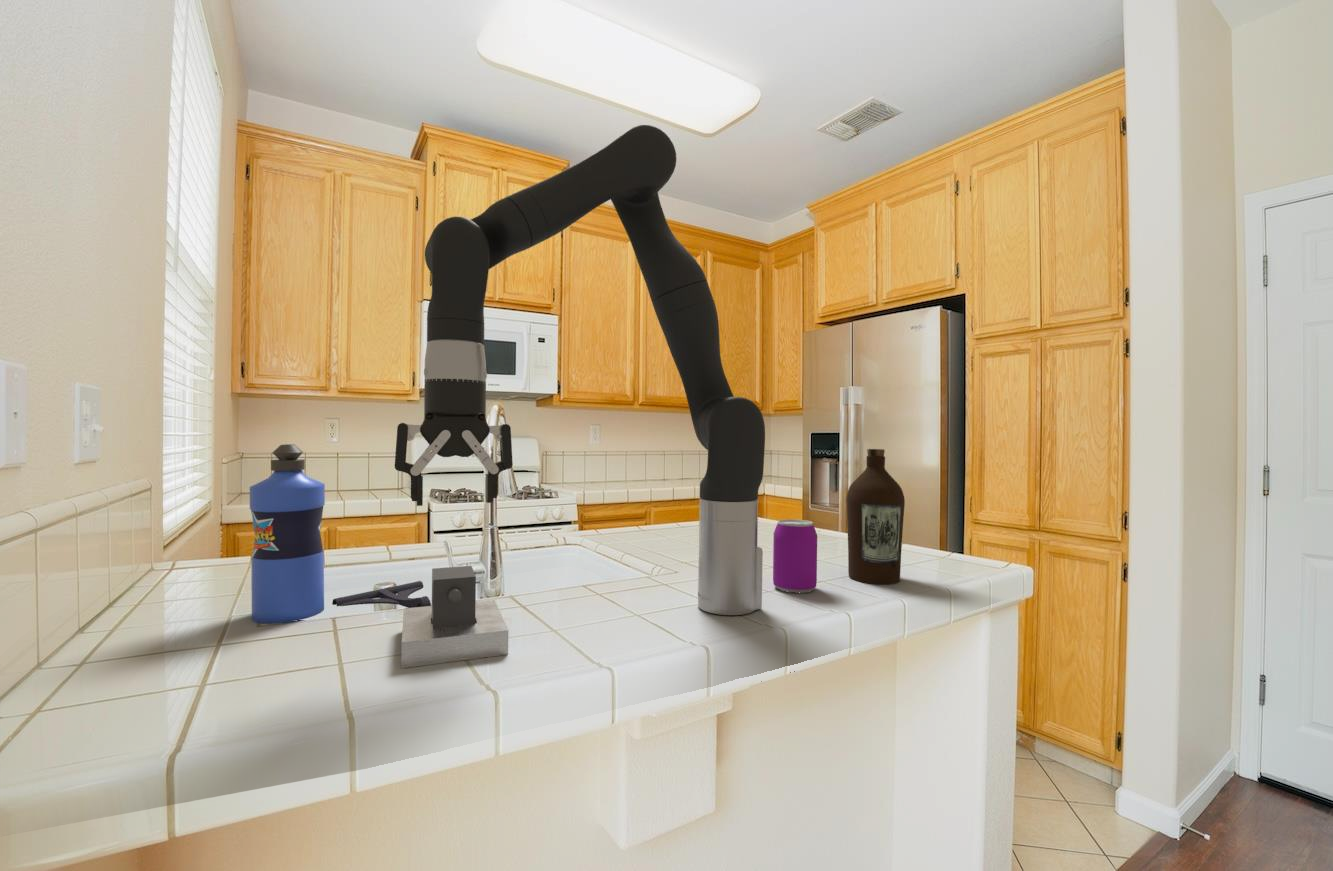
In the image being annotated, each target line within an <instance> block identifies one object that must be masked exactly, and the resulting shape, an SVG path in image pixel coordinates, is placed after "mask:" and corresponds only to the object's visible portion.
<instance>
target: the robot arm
mask: <svg viewBox="0 0 1333 871" xmlns="http://www.w3.org/2000/svg"><path fill="white" fill-rule="evenodd" d="M676 165H677V152H676V147H675V145H674V143H673V141H672V140H671V138H670V137H669V136H668V134H667V133H666V132H665V131H664V130H662V129H661V128H659V127H656V126H654V125H650V124H640V125H635V126H633V127H631V128H629V129H628V130H626V131H625V132H624V133H623V134H621V135H620V136H619V137H617V138H616V139H614V140H613V141H612V142H609V143H608V144H607V145H606V146H605V147H603V148H602V149H600V150H599V151H597V152H595V153H594V154H592V155H590V156H589V157H587V158H586V159H583V160H582V161H580V162H578V163H577V164H574V165H573V166H570V167H569V168H567V169H565V170H563V171H560V172H558V173H557V174H555V175H551V176H550V177H548V178H546V179H544V180H542V181H539V182H537V183H535V184H533V185H531V186H528V187H526V188H523V189H521V190H519V191H517V192H514V193H512V194H510V195H507V196H505V197H502V198H501V199H499V200H497V201H495V202H494V203H492V204H490V206H489V207H488V208H487V209H485V211H483V212H482V213H481V214H479V215H477V216H476V217H474V218H471V219H469V218H467V217H465V216H464V217H463V216H452V217H451V216H450V217H447V218H445V219H444V220H441V221H440V222H439V223H438V224H437V225H436V226H435V227H434V229H433V231H432V232H431V234H430V237H429V239H428V241H427V243H426V246H425V247H424V248H425V250H424V260H425V264H426V266H427V268H428V271H429V273H431V297H430V299H429V303H428V307H427V314H426V348H425V349H426V350H425V356H424V369H423V377H424V388H423V389H424V390H423V391H424V392H423V393H424V398H423V399H424V400H423V401H424V404H423V405H424V406H423V407H424V409H423V410H424V411H423V412H424V413H423V415H424V417H423V422H422V423H421V424H409V423H405V422H400V423H399V424H397V427H396V430H397V431H396V443H395V457H394V469H395V470H396V471H397V472H402V473H405V474H408V475H409V477H410V499H411V501H412V502H416V506H417V507H422V506H423V504H424V502H423V495H424V491H423V490H424V487H423V486H424V484H423V482H424V479H423V478H424V477H423V474H422V471H424V469H425V468H426V467H427V466H428V464H429V463H430V462H431V461H432V460H433V458H434V457H435V456H436V455H438V456H440V457H442V458H451V457H454V456H458V457H461V458H469V457H471V456H473V455H474V456H475V457H476V458H477V459H478V461H479V462H480V463H481V465H482V466H483V467H484V468H485V469H486V471H487V473H485V503H487V504H493V503H494V499H497V497H498V496H499V475H500V474H501V472H503V471H506V470H510V469H511V468H512V467H513V465H514V464H513V449H512V448H513V447H512V446H513V445H512V430H511V426H510V424H507V423H502V424H500V425H489V423H488V422H487V418H486V416H487V413H486V412H487V377H488V372H487V361H486V353H485V352H486V351H485V312H484V307H485V300H486V294H487V288H488V278H489V272H490V271H489V270H490V269H492V268H493V267H495V266H497V265H499V264H500V263H502V262H503V261H505V260H506V259H508V258H511V256H514V255H516V254H518V253H521V252H524V251H526V250H528V249H530V248H532V247H534V246H537V245H538V244H541V243H542V242H544V241H546V240H549V239H551V238H553V237H554V236H556V235H557V234H560V232H562V231H564V230H565V229H567V228H568V227H570V226H571V225H573V224H574V223H576V222H578V221H579V220H580V219H581V218H583V217H584V216H586V215H588V214H589V213H590V212H592V211H593V210H594V209H596V208H598V207H600V206H601V205H603V204H605V203H606V202H608V201H611V203H612V206H613V208H614V210H615V212H616V213H617V216H618V217H619V220H620V222H621V223H622V226H623V228H624V231H625V232H626V234H627V237H628V240H629V241H630V244H631V247H632V249H633V251H634V255H635V258H636V261H637V264H638V267H639V270H640V271H641V275H642V277H643V279H644V282H645V286H646V287H647V290H648V294H649V298H650V300H651V303H652V304H651V305H652V307H653V309H654V312H655V315H656V318H657V320H658V323H659V325H660V328H661V330H662V333H663V336H664V338H665V341H666V343H667V347H668V348H669V352H670V354H671V357H672V359H673V361H674V365H675V366H676V369H677V371H678V373H679V377H680V379H681V383H682V387H683V389H684V392H685V397H686V399H687V400H686V401H687V404H688V409H689V412H690V417H691V421H692V424H693V429H694V432H695V435H696V438H697V440H698V442H699V443H700V444H701V446H702V447H703V448H704V449H706V451H707V462H706V464H707V465H706V470H705V474H704V476H703V478H702V479H701V480H700V482H699V506H698V507H699V513H698V516H699V520H698V521H699V522H698V526H699V527H698V528H699V529H698V576H697V578H698V584H697V585H698V586H697V607H698V608H699V609H700V610H702V611H704V612H707V613H709V614H715V615H720V616H722V615H723V616H741V615H747V614H751V613H753V612H754V611H756V610H762V608H763V606H762V605H763V554H764V553H763V552H764V551H763V549H762V547H760V546H758V533H759V532H758V527H759V526H758V524H759V520H758V518H759V516H758V515H759V514H758V513H759V511H758V509H759V508H758V507H759V500H758V499H759V488H760V486H761V484H762V481H763V477H764V467H765V466H764V465H765V464H764V463H765V447H766V446H765V445H766V426H765V420H764V417H763V414H762V412H761V409H760V408H759V406H757V404H756V403H755V402H754V401H752V400H751V399H749V398H745V397H741V396H734V394H733V392H732V390H731V387H730V384H729V382H728V380H727V377H726V374H725V371H724V367H723V363H722V358H721V344H720V343H721V342H720V341H721V340H720V326H719V316H718V310H717V306H716V303H715V300H714V297H713V294H712V290H711V287H710V286H709V283H708V281H707V277H706V275H705V272H704V270H703V268H702V267H701V265H700V264H699V263H698V261H697V259H695V257H694V256H693V255H692V254H691V253H690V252H689V251H688V249H686V248H685V247H684V246H683V244H682V243H681V242H680V241H679V240H678V238H677V237H676V236H675V235H674V234H673V232H672V230H671V228H670V227H669V224H668V221H667V219H666V216H665V214H664V211H663V207H662V203H661V201H660V197H659V192H660V190H662V189H663V188H664V186H665V185H666V184H667V183H668V182H669V181H670V179H671V178H672V175H673V174H674V172H675V169H676V167H677V166H676ZM418 433H420V435H421V436H422V438H424V440H425V441H426V442H427V443H428V447H427V448H426V449H425V450H424V451H423V452H422V453H421V455H420V456H419V457H418V458H417V459H416V461H415V462H414V463H410V462H407V452H408V451H407V449H408V442H411V441H413V440H414V438H415V437H416V435H417V434H418ZM490 434H492V435H493V439H494V440H495V441H497V442H499V451H500V452H499V455H500V456H499V457H500V460H499V461H497V462H494V460H493V458H491V456H490V455H489V454H488V452H487V451H486V450H485V448H484V447H483V445H482V444H483V443H484V442H485V440H486V439H487V438H488V436H489V435H490Z"/></svg>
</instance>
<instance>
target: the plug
mask: <svg viewBox="0 0 1333 871" xmlns="http://www.w3.org/2000/svg"><path fill="white" fill-rule="evenodd" d="M476 579H477V576H476V574H475V571H474V568H473V566H472V565H466V566H465V565H462V566H451V567H435V568H434V567H433V568H431V606H432V624H433V628H442V627H451V626H461V625H470V624H475V603H476V602H477V601H476V597H477V596H476V594H477V593H476V591H477V589H476V587H477V585H476V583H477V582H476V581H477V580H476Z"/></svg>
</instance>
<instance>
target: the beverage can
mask: <svg viewBox="0 0 1333 871" xmlns="http://www.w3.org/2000/svg"><path fill="white" fill-rule="evenodd" d="M772 547H773V550H772V551H773V552H772V554H773V558H772V562H773V563H772V581H773V582H772V584H773V586H774V587H775V588H776V589H777V588H778V589H777V590H779V589H780V590H779V591H781V590H783V591H782V592H784V591H788V592H797V593H796V594H804V593H803V592H808V593H810V592H809V591H811V592H812V591H813V590H814V589H816V587H817V582H818V580H817V579H818V578H817V576H818V572H817V571H818V534H817V531H816V528H815V525H814V522H813V521H811V520H806V519H795V518H792V519H789V518H788V519H787V518H786V519H779V520H778V521H777V523H776V526H775V529H774V531H773V546H772ZM788 592H787V593H788ZM799 592H800V593H799Z"/></svg>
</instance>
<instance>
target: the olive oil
mask: <svg viewBox="0 0 1333 871" xmlns="http://www.w3.org/2000/svg"><path fill="white" fill-rule="evenodd" d="M866 450H867V451H866V453H867V456H865V457H866V468H865V469H864V471H863V472H862V473H860V474H859V476H857V478H855V479H854V481H853V482H852V483H851V484H850V485H849V487H848V491H847V494H846V519H847V520H846V523H847V524H846V526H847V527H846V528H847V551H848V552H847V553H848V556H847V558H848V560H847V561H848V564H847V565H848V569H847V570H848V577H849V578H850V579H851V580H854V581H857V580H858V581H857V582H860V581H861V583H865V582H867V583H866V584H872V583H875V584H874V585H892V583H893V584H897V583H899V582H900V580H901V567H902V566H901V564H902V547H903V532H904V530H903V529H904V528H903V527H904V518H905V506H906V505H905V495H904V492H903V489H902V486H900V484H899V483H898V482H897V481H896V480H895V478H893V476H892V475H891V474H890V473H889V472H888V470H886V468H885V466H886V457H885V449H884V448H867V449H866Z"/></svg>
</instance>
